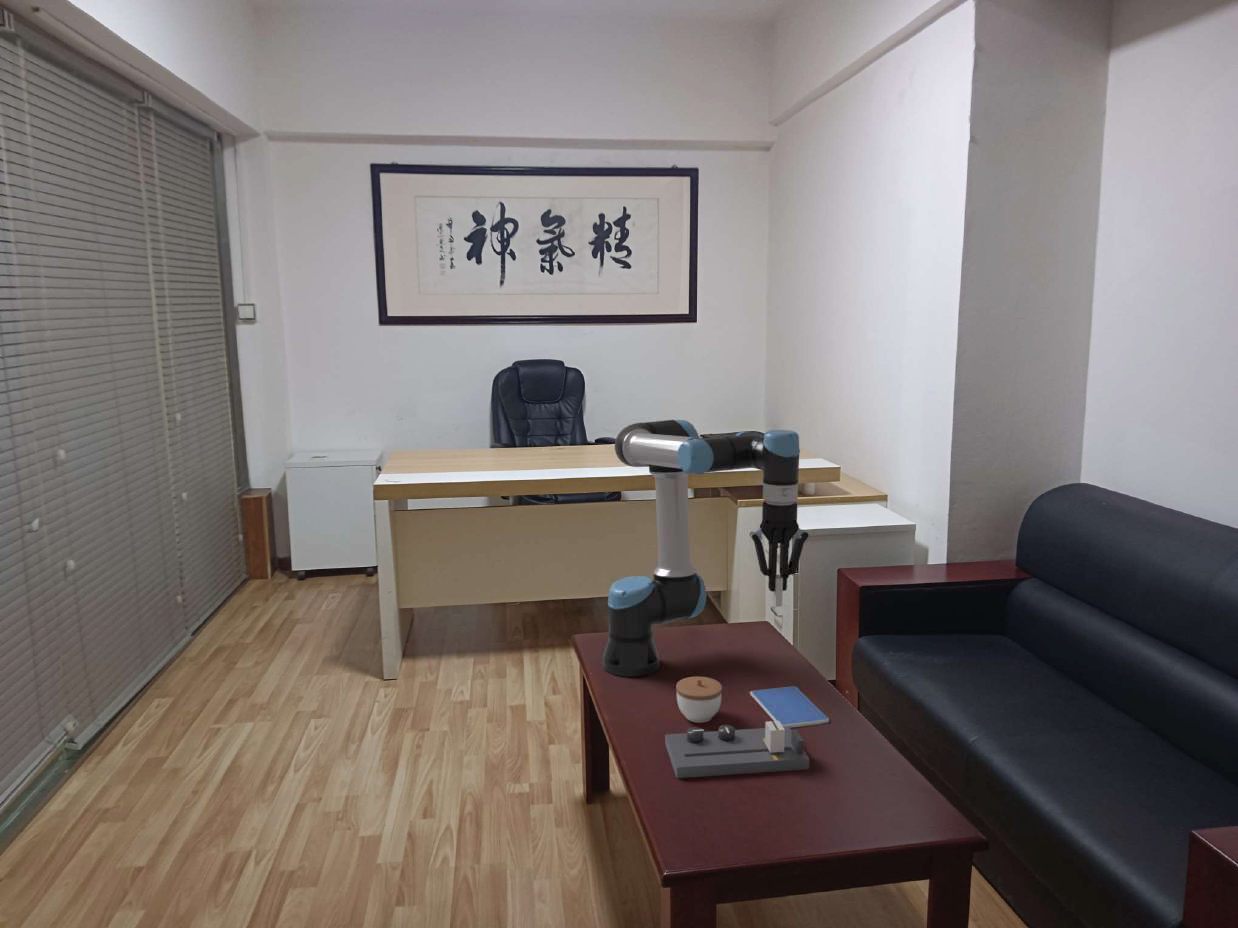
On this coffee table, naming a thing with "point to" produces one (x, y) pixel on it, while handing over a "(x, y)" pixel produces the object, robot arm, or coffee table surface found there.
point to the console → (732, 752)
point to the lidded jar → (699, 698)
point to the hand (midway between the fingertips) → (777, 604)
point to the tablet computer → (789, 707)
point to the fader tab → (774, 736)
